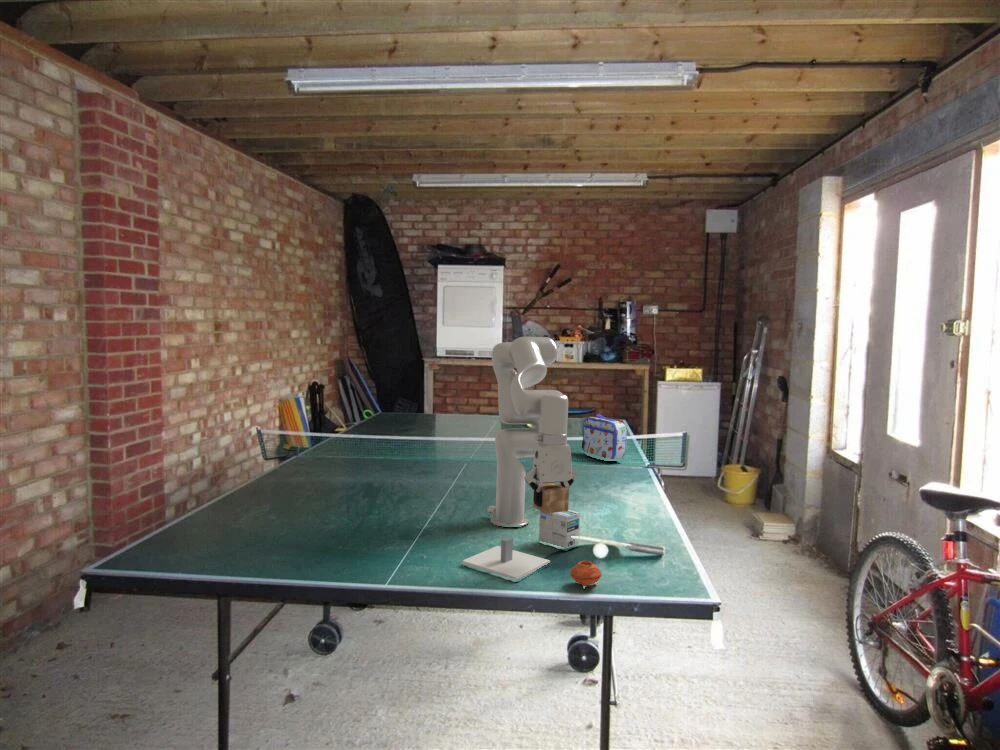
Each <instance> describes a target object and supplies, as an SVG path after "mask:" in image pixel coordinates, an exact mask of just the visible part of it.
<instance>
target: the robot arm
mask: <svg viewBox="0 0 1000 750" xmlns="http://www.w3.org/2000/svg"><path fill="white" fill-rule="evenodd" d="M557 347H558V346H557V344H556V342H555V341H554V339H552V338H551V337H548V336H520V337H518V338H515V339H514V340H512V341H507V342H504V341H503V342H499V343H496V344H495V345H493V348H492V351H491V364H492V368H493V372H494V374H495V378H496V381H497V396H498V399H497V400H498V401H497V402H498V418H499V419H500V422H501V423H502V424H506V425H530V427H531V428H530V427H528V428H527V427H526V428H523V427H522V428H519V427H518V428H517V427H516V428H512V427H510V428H504V429H501V430H499V431H498V432H497V433H496V434H495V438H494V446H495V454H496V455H495V456H496V486H495V487H496V488H495V489H496V490H495V493H496V495H495V506H494V505H489V506H488V508H487V510H486V512H487V513H489V514H492V517H491V518H490V524H492V523H493V524H495V525H498V526H509V527H510V526H511V527H513V526H522V525H525V524H527V523H528V522H529V523H530V521H529V519H528V517H526V516H525V502H526V501H525V500H526V498H525V496H526V482H527V485H528V486H529V487H530V488H531V489H532V490H533V493H534V504H535V505H537V506H539V507H541V506H542V492H541V489H542V487H543V485H544V484H550V483H559V485H561V486H563V487H565V488H568V489H569V490H570V487H571V486H572V485H573V483H574V481H575V480H576V479H577V477H578V476H579V473H578V472H577V471H576V470H575V469H573V465H572V462H573V461H572V453H571V446H570V444H569V443H568V442H567V441H568V421H569V420H568V418H569V417H568V416H569V398H568V396H567V395H566V394H564V393H562V392H561V391H560V390H557V389H528V388H531V387H532V386H535V385H537V384H539V383H540V382H542V381H543V380H544V379H545V377H546V376H547V373H548V370H547V369H548V368H547V367H549V366H551V365H553V364H554V363H555V362H556V360H557V358H558V348H557ZM515 369H516V370H515ZM520 458H533V461H532V469H531V470H530V471H529V472H528V473H527V472H526V469H525V466H524V465H523V464H522V463H521V462H520V460H519V459H520ZM526 473H527V474H526ZM533 479H534V480H533ZM529 523H528V524H529ZM493 524H492V525H493ZM495 525H494V526H495ZM498 526H497V527H498Z"/></svg>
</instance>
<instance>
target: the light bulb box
mask: <svg viewBox="0 0 1000 750" xmlns="http://www.w3.org/2000/svg"><path fill="white" fill-rule="evenodd" d="M580 524H581V512H580V511H575V510H570V509H568V511H564V512H555V513H546V514H545V513H544V512H542V511H540V510H539V524H538V525H539V527H538V529H539V530H538V542H539V541H542V542H546V543H550V544H553V545H557V546H561V547H564V548H568V547H571V546H574V545H577V544H578V543H579V544H580V540H579V541H577V540H575V539H572V538H571V536H579V537H580V530H581V529H580V526H581V525H580Z"/></svg>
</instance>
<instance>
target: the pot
mask: <svg viewBox="0 0 1000 750" xmlns="http://www.w3.org/2000/svg"><path fill="white" fill-rule="evenodd" d="M602 575H603V574H602V572H601V570H600V568H599V567H598V566H597V565H595V564H594V563H593V562H592V561H589V560H580V561H578V563H577V564H576V565H574V566H573V567H572V568H571V570H570V571H569V576H570V577H571V578H572V579H573V581H574V580H575V581H576V582H578V583H577V584H580V585H581V587H582V586H586V587H588V586H590V584H591V585H593V584H594V583H595V582H597V581H598V582H599V580H600V579H601V577H602ZM575 581H574V582H575ZM576 582H575V583H576Z"/></svg>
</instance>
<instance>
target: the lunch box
mask: <svg viewBox="0 0 1000 750" xmlns="http://www.w3.org/2000/svg"><path fill="white" fill-rule="evenodd" d="M626 426H627V425H625V423H623V422H621V421H618V420H615V419H612V418H608V417H605V416H604V415H602V414H596V415H595V416H588V417H586V418H585V419H584V420H583V423H582V431H581V432H582V442H581V449H582V452H583V451H584V452H587V453H591V454H594V455H597V456H600V457H604V458H609V459H616V458H624V459H625V457H626V448H627V447H626V446H627V436H628V435H627V434H628V432H627V431H628V430H627V427H626ZM584 452H583V453H584Z"/></svg>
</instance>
